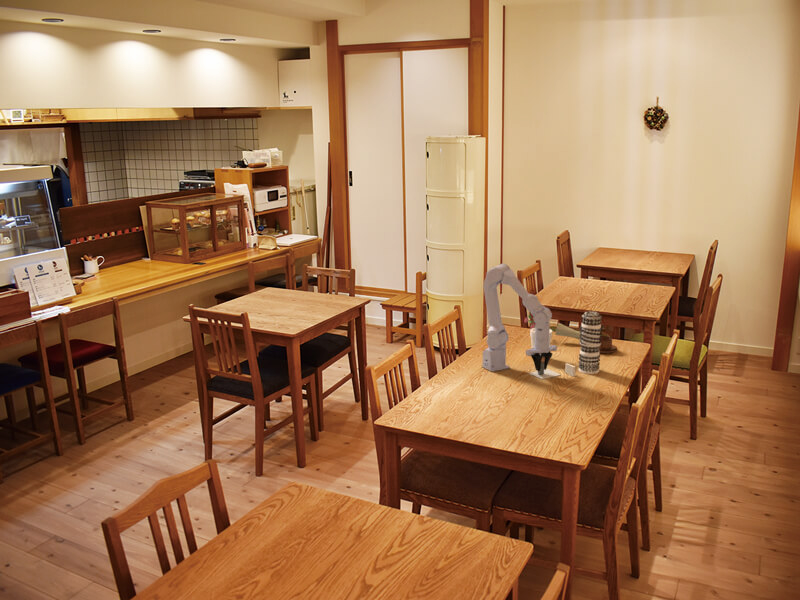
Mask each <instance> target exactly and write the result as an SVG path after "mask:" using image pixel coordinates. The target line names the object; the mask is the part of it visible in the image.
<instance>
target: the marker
mask: <svg viewBox="0 0 800 600" xmlns="http://www.w3.org/2000/svg"><path fill="white" fill-rule="evenodd" d="M544 361H545V357H543V358H542V360H541V368H540V371H538V374H540V375H543V374H544Z"/></svg>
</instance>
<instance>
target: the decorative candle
mask: <svg viewBox="0 0 800 600" xmlns="http://www.w3.org/2000/svg"><path fill="white" fill-rule="evenodd" d="M581 317H582V319H581V324H580V326H579V332H580V338H581V339H580V340H579V345H580V348H579V353H578V356H579V357H578V360H579V361H578V371H579V372H580V373H582V374H585V375H588V374H589V375H595V374H598V373H599V372H600V365H601V363H600V361H601V359H600V358H601V355H600V353H599V346H600V345H601V341H600V339H602V338H601V337H600V336H603V333H602V331H603V329H602V318H603V317H602V315H601V314H600V313H599V312H598V311H591V310H589V311H585V312H584V314H582V315H581ZM581 336H582V337H581Z"/></svg>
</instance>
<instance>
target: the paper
mask: <svg viewBox="0 0 800 600" xmlns="http://www.w3.org/2000/svg"><path fill="white" fill-rule="evenodd" d="M528 373H529V375H531V376H533V377H536V378H537V379H540V380H545V379H550V378H556V377H559V376H561V373H558V372H556V371H553V370H552V369H550V368H546V370H544V374H543V375H540V374H538V371H537V370H535V371H531V372H528Z"/></svg>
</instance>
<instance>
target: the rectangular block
mask: <svg viewBox="0 0 800 600" xmlns="http://www.w3.org/2000/svg"><path fill="white" fill-rule="evenodd" d="M564 373H565V374H566V375H569V376H571V377H576V366H574V365H572V364H570V363H567V362H566V363H565V367H564Z"/></svg>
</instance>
